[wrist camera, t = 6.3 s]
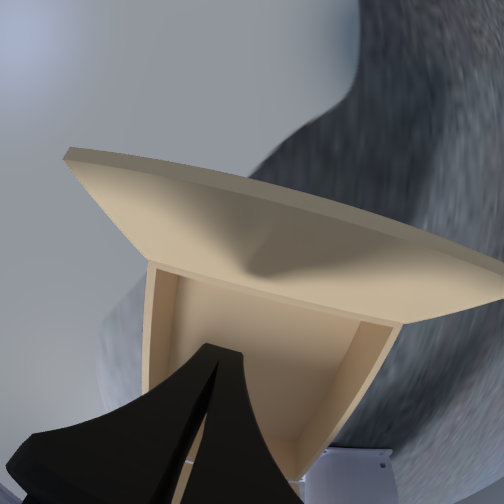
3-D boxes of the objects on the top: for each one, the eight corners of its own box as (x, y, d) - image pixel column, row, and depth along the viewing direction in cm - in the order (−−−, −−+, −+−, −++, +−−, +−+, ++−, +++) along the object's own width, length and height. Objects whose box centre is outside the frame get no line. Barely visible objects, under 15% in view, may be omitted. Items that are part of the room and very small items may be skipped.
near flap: (406, 323, 14) (407, 316, 14) (532, 288, 6) (532, 276, 6) (146, 258, 14) (148, 251, 14) (62, 159, 6) (69, 147, 6)
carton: (379, 285, 19) (404, 321, 14) (298, 442, 24) (298, 481, 19) (180, 234, 19) (148, 257, 14) (161, 409, 25) (144, 445, 20)
